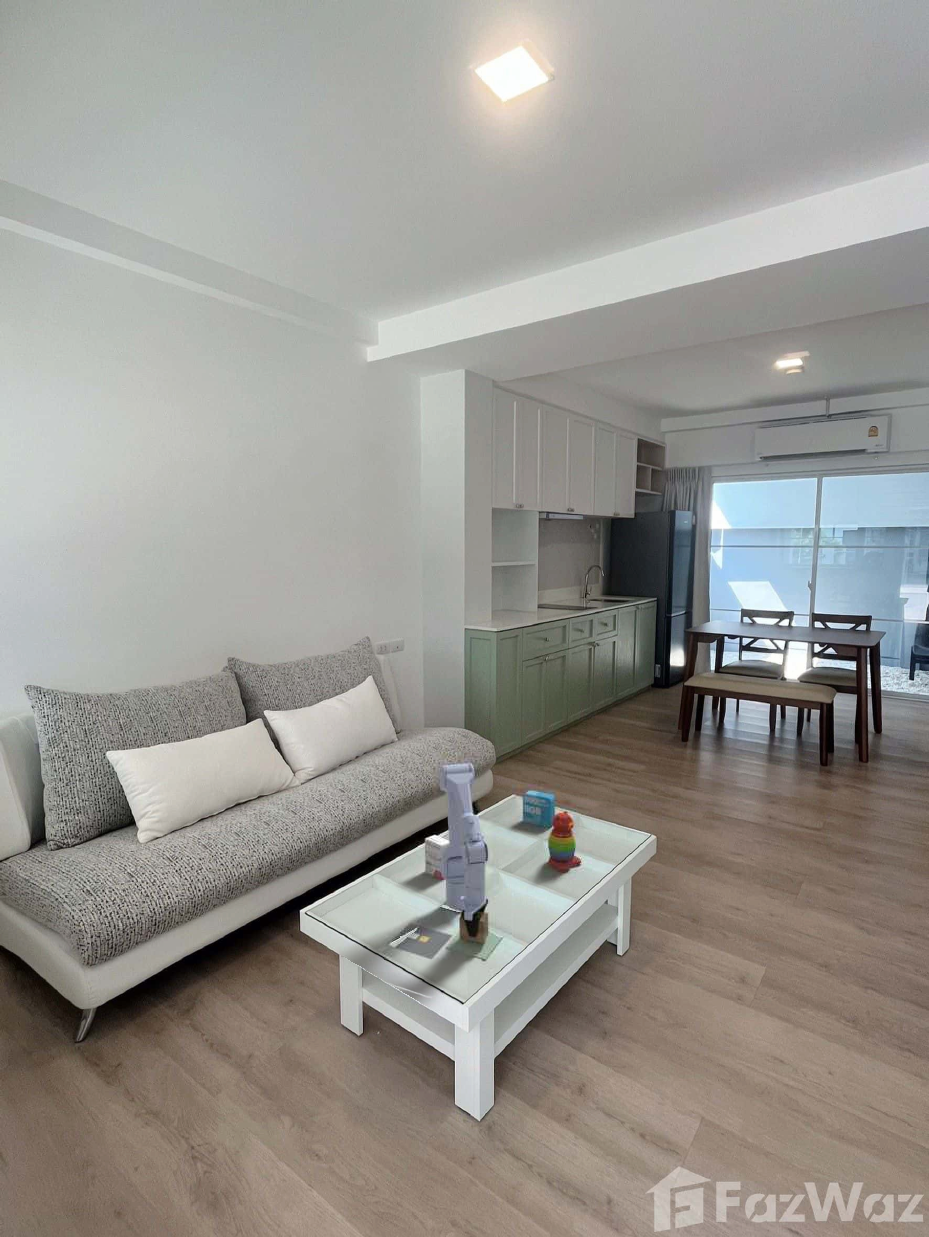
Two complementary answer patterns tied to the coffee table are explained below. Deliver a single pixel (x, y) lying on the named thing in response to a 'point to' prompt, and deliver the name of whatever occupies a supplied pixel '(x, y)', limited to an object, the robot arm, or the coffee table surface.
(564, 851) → the stacking bear
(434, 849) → the ink box
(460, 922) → the walnut block
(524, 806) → the data package
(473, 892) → the robot arm
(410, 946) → the grey flat rectangular plate
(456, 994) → the coffee table surface
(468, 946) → the mat
